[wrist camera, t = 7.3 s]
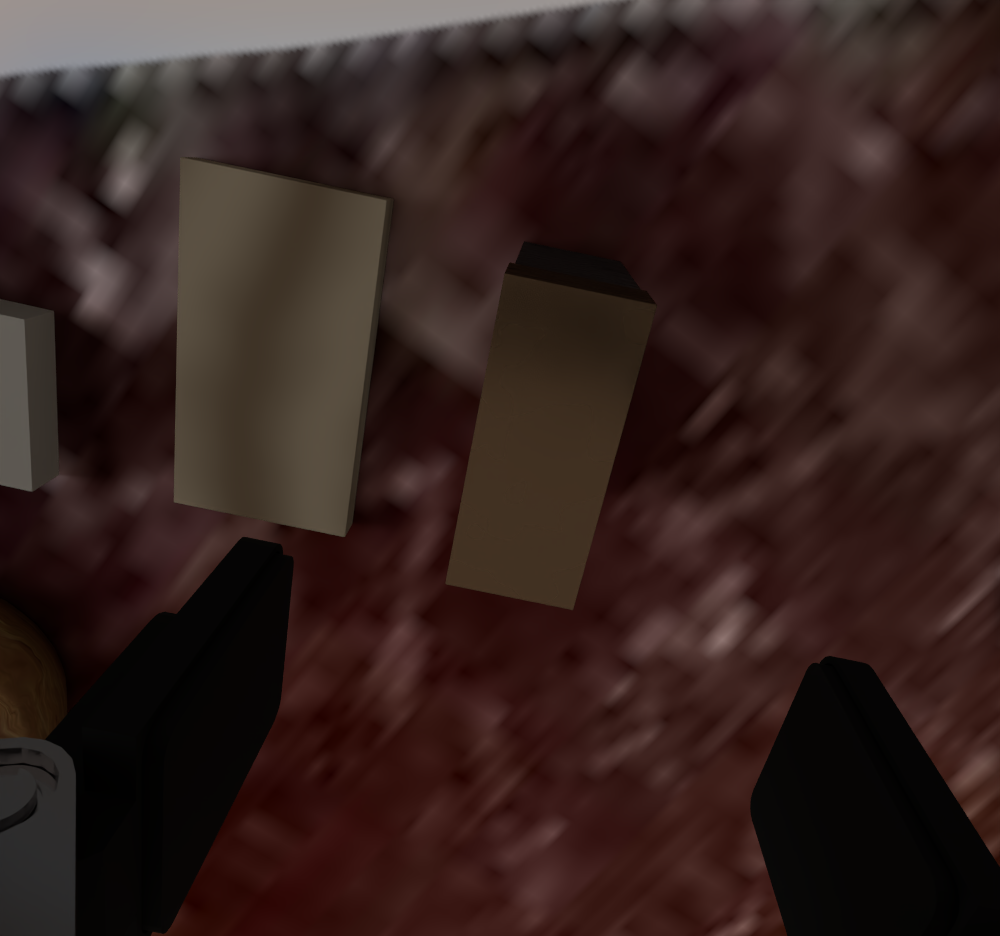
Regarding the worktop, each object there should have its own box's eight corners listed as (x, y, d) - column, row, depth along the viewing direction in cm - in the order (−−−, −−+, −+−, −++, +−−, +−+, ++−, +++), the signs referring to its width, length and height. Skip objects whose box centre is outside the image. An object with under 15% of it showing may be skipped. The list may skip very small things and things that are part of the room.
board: (393, 198, 25) (386, 200, 24) (352, 523, 30) (344, 536, 29) (196, 157, 25) (180, 157, 24) (187, 490, 30) (173, 502, 29)
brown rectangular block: (624, 262, 26) (657, 305, 18) (567, 488, 29) (572, 609, 21) (519, 240, 26) (504, 273, 18) (475, 469, 29) (445, 583, 21)
